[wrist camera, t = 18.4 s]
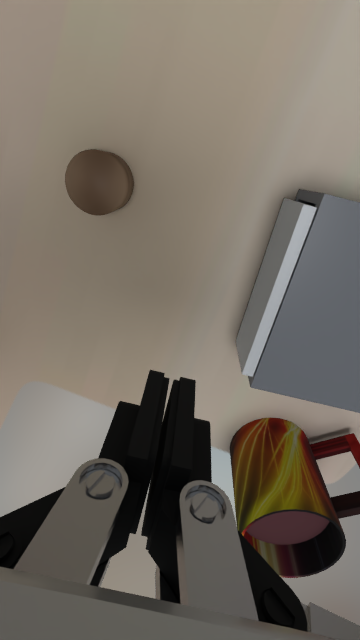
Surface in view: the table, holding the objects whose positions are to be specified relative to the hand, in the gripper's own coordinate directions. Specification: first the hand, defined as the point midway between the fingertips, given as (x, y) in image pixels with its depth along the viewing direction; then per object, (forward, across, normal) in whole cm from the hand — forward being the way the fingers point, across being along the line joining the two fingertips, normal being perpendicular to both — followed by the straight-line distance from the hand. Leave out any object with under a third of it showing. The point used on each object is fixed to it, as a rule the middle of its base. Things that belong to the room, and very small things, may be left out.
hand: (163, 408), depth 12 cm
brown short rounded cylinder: (+23, +9, -5) cm, 25 cm away
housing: (+23, -15, 0) cm, 28 cm away
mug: (+23, -16, +19) cm, 34 cm away
